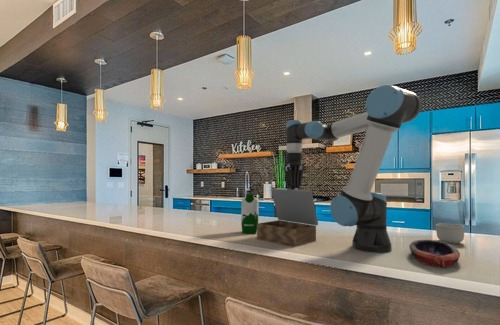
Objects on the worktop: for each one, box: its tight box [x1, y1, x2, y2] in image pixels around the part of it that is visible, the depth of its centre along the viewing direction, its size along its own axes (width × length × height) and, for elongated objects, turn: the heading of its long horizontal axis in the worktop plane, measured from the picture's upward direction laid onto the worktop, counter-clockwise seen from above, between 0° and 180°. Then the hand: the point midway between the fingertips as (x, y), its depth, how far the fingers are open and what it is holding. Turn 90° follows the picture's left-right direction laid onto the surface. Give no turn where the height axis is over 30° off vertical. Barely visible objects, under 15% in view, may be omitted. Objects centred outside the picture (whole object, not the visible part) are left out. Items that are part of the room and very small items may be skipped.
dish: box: [409, 239, 461, 268], centre depth 110 cm, size 16×31×5 cm, turn 151°
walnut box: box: [256, 219, 317, 248], centre depth 139 cm, size 22×16×7 cm
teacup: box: [435, 222, 465, 245], centre depth 138 cm, size 14×11×8 cm
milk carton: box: [240, 193, 260, 235], centre depth 156 cm, size 9×9×20 cm
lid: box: [270, 188, 319, 226], centre depth 144 cm, size 23×17×2 cm
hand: (294, 201), depth 144 cm, fingers closed
